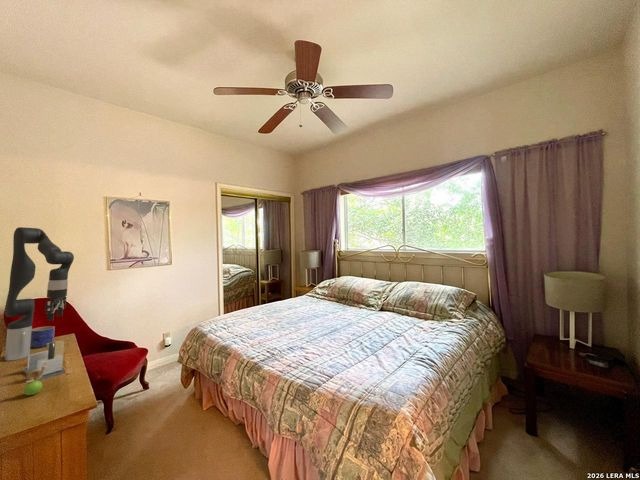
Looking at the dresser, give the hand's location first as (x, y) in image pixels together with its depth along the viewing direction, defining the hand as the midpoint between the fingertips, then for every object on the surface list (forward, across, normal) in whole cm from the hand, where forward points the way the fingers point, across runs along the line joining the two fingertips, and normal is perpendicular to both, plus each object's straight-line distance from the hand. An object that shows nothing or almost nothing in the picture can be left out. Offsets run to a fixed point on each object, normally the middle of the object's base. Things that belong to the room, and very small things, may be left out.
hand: (54, 318), depth 136 cm
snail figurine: (+25, +32, +9) cm, 41 cm away
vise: (+25, +8, +1) cm, 26 cm away
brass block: (+26, -9, -2) cm, 28 cm away
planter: (+27, -41, -23) cm, 54 cm away
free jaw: (+23, +13, +5) cm, 27 cm away
